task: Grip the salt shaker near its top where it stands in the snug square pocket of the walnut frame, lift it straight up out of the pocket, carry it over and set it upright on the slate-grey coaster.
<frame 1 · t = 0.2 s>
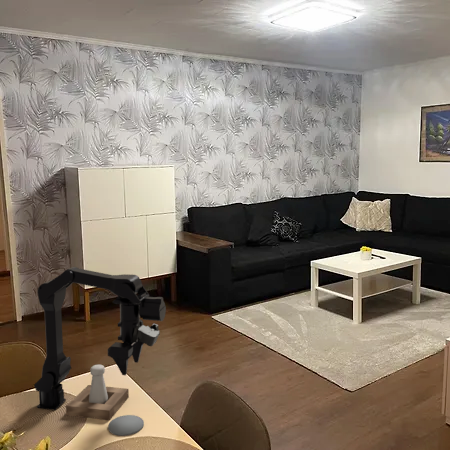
hand: (130, 368, 140), 14 cm above the table, fingers open, 9 cm apart
walnut frame: (98, 406, 146), on the table
salt shaker: (98, 406, 146), resting in walnut frame
slate coaster: (126, 426, 134), on the table
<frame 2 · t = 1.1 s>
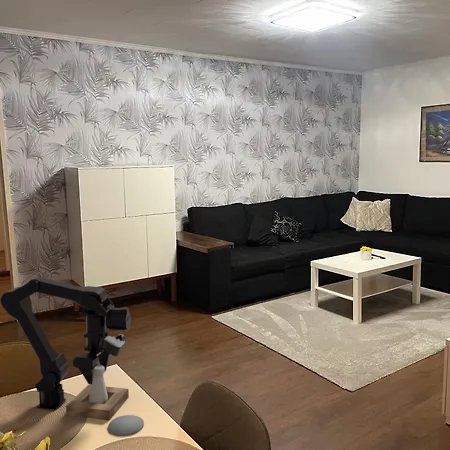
hand: (97, 377, 145), 9 cm above the table, fingers open, 9 cm apart
nothing on the table moved.
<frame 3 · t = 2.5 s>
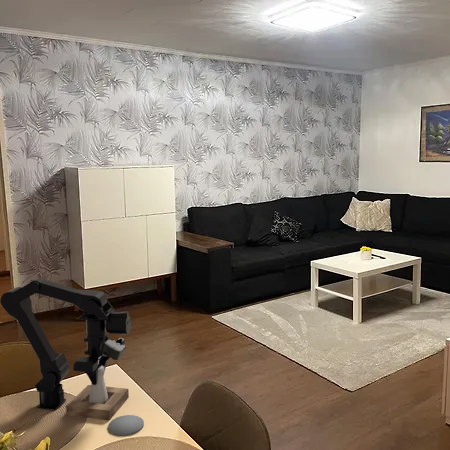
hand: (97, 381, 145), 8 cm above the table, fingers closed on salt shaker, 4 cm apart
salt shaker: (98, 406, 146), resting in walnut frame, touching gripper
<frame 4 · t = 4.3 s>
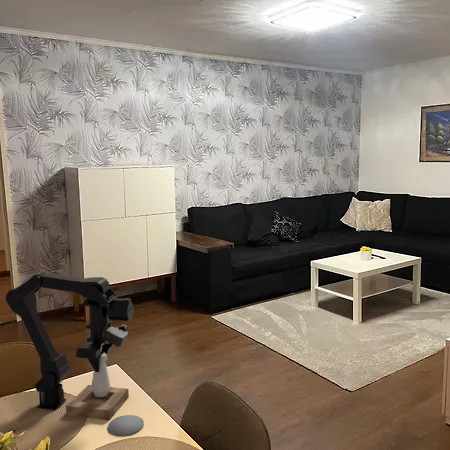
hand: (100, 369, 143), 13 cm above the table, fingers closed on salt shaker, 4 cm apart
salt shaker: (101, 394, 144), point 4 cm above the table, touching gripper
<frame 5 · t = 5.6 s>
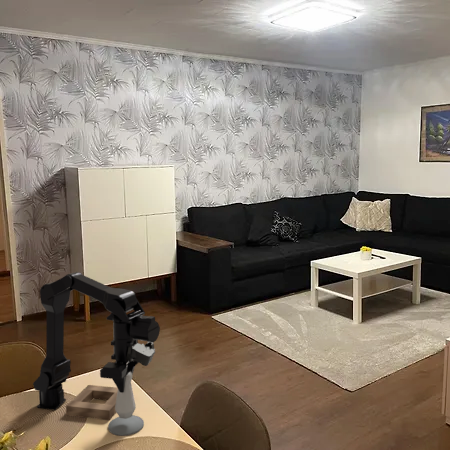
hand: (124, 388, 133), 11 cm above the table, fingers closed on salt shaker, 4 cm apart
salt shaker: (125, 415, 134), point 3 cm above the table, touching gripper
when the fingers open (9 cm above the table, at t = 6.6 s): salt shaker stays where it is, resting on slate coaster.
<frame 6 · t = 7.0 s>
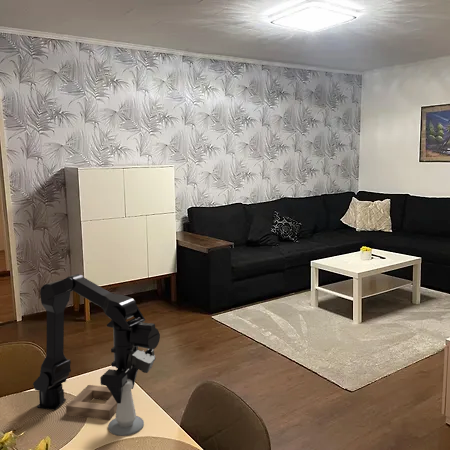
hand: (125, 395, 133), 9 cm above the table, fingers open, 8 cm apart
salt shaker: (126, 424, 134), resting on slate coaster
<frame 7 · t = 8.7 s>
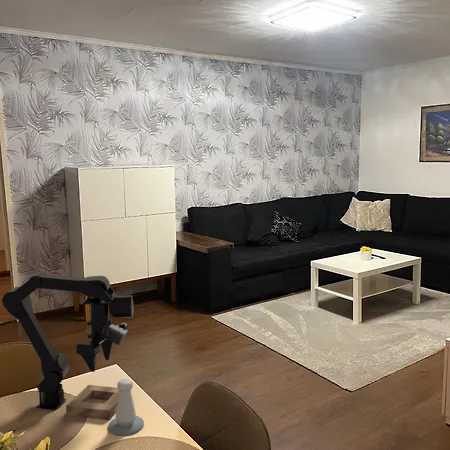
hand: (100, 365, 146), 12 cm above the table, fingers open, 9 cm apart
nothing on the table moved.
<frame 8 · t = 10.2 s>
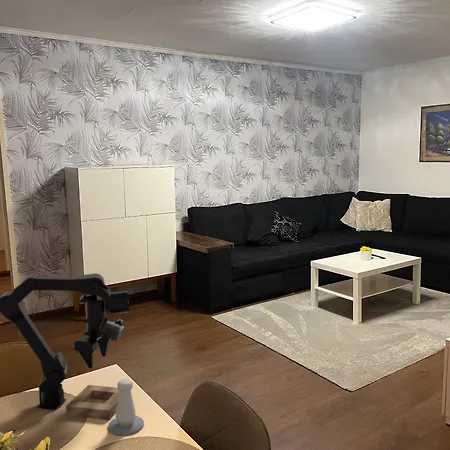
hand: (97, 362, 148), 13 cm above the table, fingers open, 9 cm apart
nothing on the table moved.
at the end: salt shaker 0.1 cm off-centre on the slate coaster, point 0.4 cm above the slate coaster's base; salt shaker tilted 0°; salt shaker touching slate coaster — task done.
